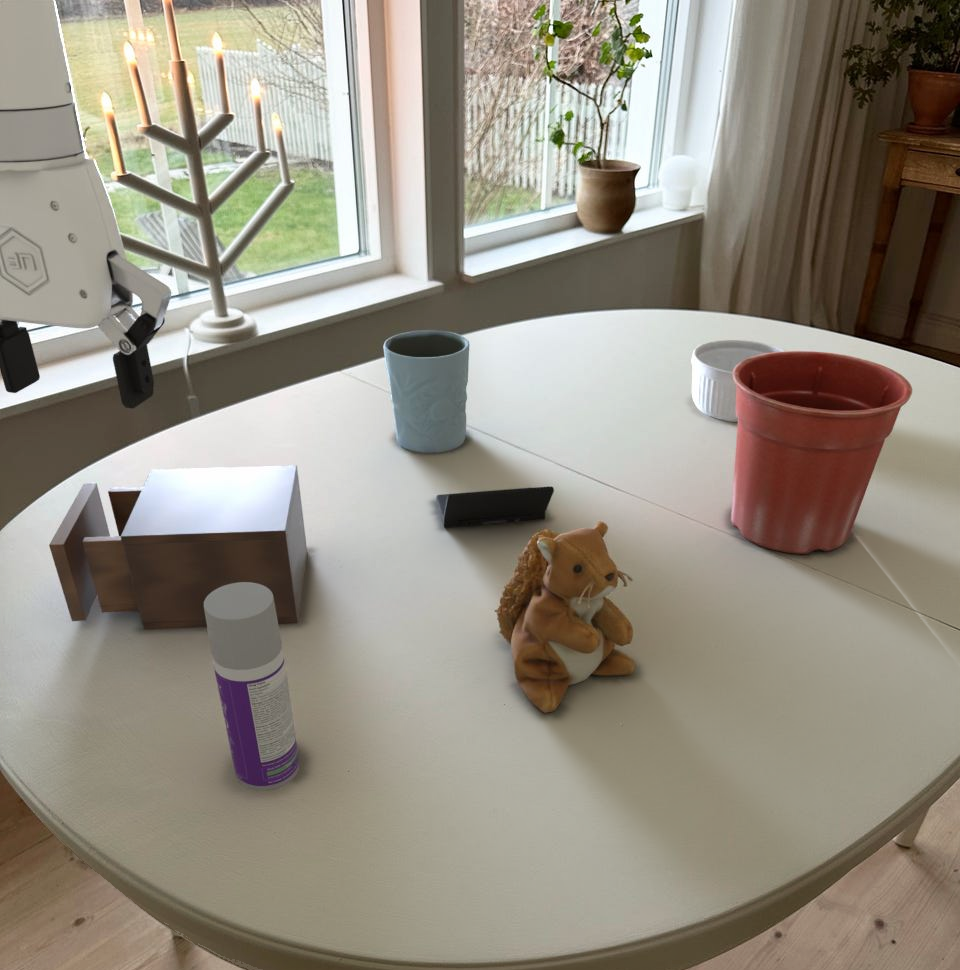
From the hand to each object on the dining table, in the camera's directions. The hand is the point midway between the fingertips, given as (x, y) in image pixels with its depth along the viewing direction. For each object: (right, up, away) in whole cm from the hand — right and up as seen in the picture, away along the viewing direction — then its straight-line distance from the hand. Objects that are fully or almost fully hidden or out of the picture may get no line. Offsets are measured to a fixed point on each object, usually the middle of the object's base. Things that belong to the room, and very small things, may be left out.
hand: (80, 393), depth 71 cm
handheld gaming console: (+31, -6, +31) cm, 44 cm away
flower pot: (+62, -7, +30) cm, 69 cm away
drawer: (-1, -13, +19) cm, 23 cm away
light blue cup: (+23, +7, +48) cm, 53 cm away
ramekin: (+64, +12, +56) cm, 86 cm away
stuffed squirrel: (+36, -20, +11) cm, 43 cm away
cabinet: (+6, -14, +20) cm, 25 cm away
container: (+14, -28, 0) cm, 31 cm away
